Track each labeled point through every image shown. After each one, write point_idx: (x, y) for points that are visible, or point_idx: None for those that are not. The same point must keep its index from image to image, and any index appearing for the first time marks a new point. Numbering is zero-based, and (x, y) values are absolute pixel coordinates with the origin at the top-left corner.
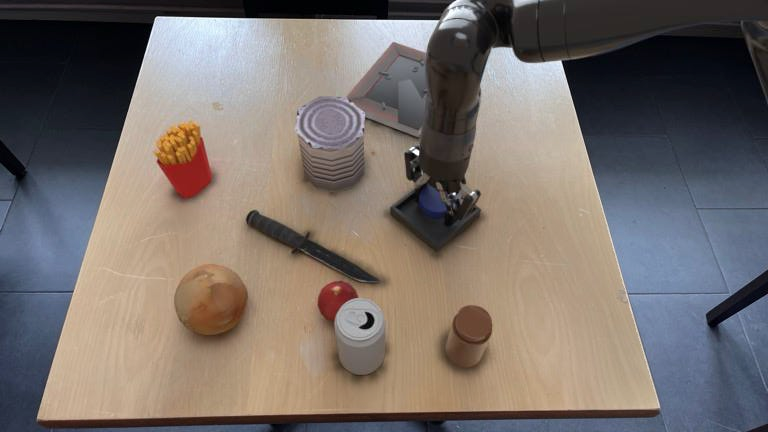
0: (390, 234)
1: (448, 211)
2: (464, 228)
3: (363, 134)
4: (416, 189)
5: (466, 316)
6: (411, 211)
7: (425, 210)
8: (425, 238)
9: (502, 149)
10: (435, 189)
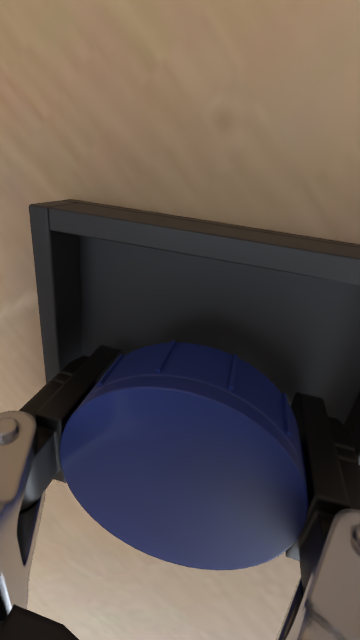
0: (356, 117)
1: (17, 434)
2: None
3: None
4: (356, 490)
5: None
6: (315, 336)
7: (188, 371)
8: (129, 216)
9: (184, 633)
10: (223, 536)
